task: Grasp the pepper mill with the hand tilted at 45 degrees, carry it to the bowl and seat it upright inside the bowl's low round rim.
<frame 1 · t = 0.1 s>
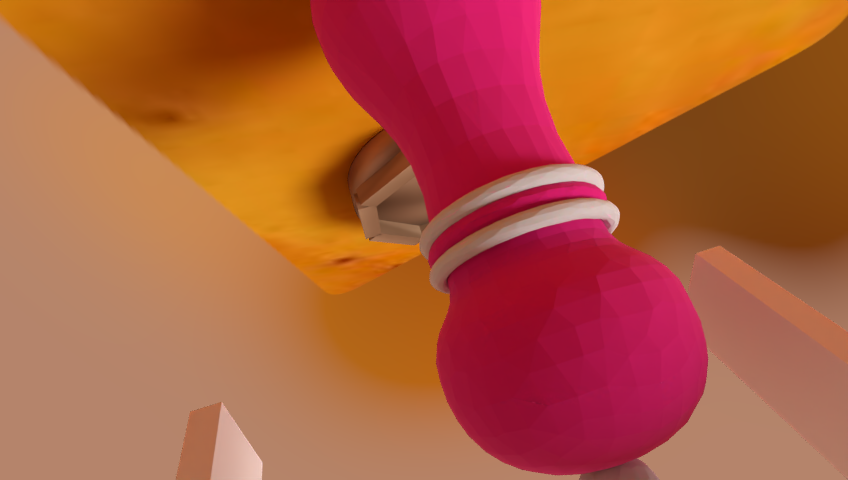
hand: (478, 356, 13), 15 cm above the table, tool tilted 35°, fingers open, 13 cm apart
bowl: (442, 163, 34), on the table
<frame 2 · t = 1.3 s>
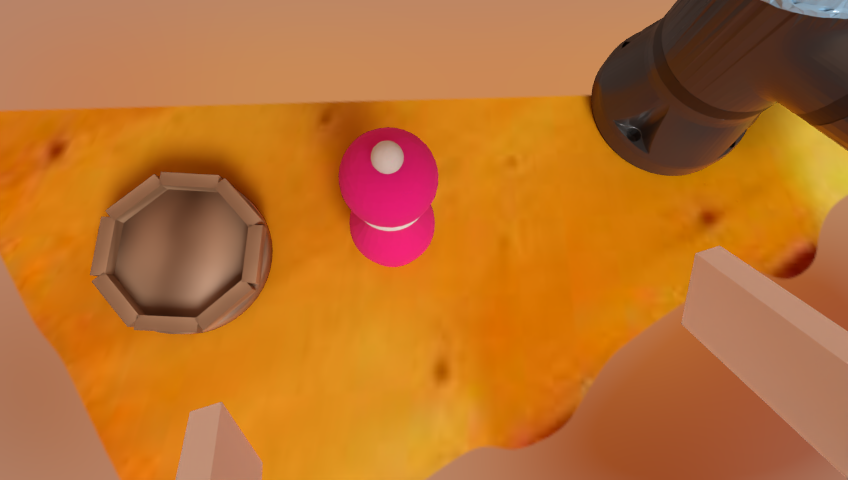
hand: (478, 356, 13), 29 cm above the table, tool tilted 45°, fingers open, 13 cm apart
bowl: (194, 255, 42), on the table
pepper mill: (393, 234, 43), on the table
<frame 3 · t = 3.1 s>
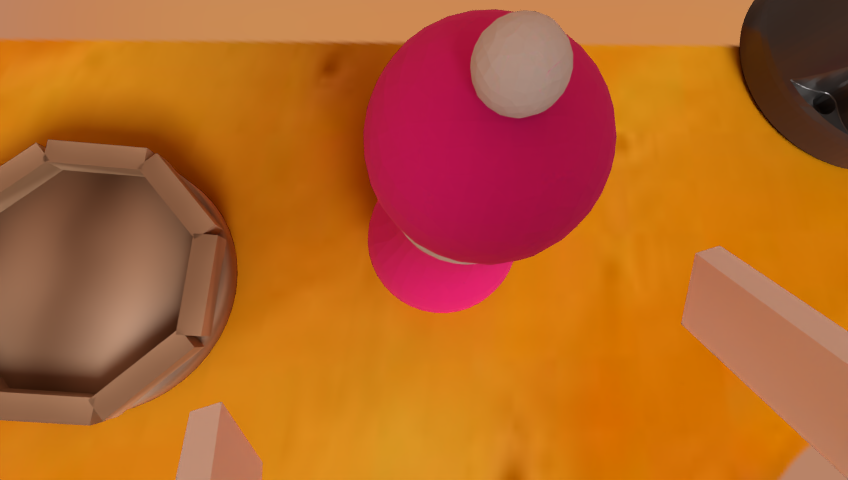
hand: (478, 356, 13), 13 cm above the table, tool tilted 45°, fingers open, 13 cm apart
bowl: (108, 281, 25), on the table
pepper mill: (434, 254, 27), on the table
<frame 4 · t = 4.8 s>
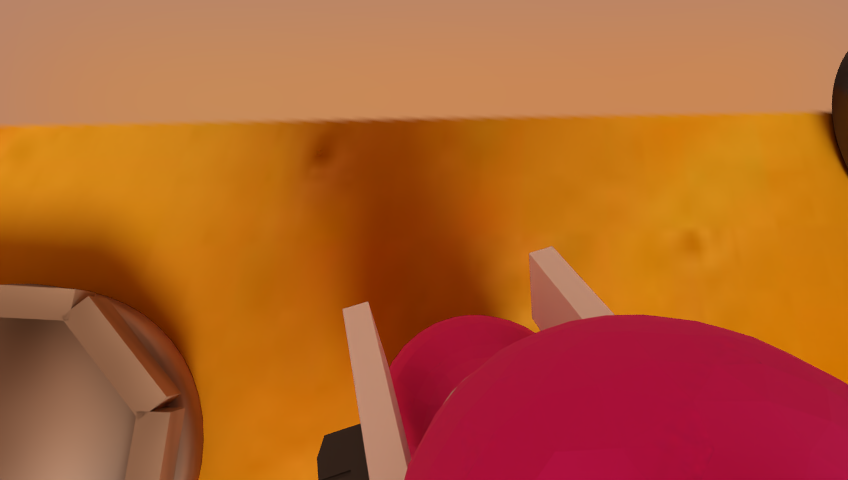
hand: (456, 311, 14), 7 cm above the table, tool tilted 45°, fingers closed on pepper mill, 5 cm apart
bowl: (31, 456, 19), on the table
pepper mill: (460, 400, 21), on the table, touching gripper
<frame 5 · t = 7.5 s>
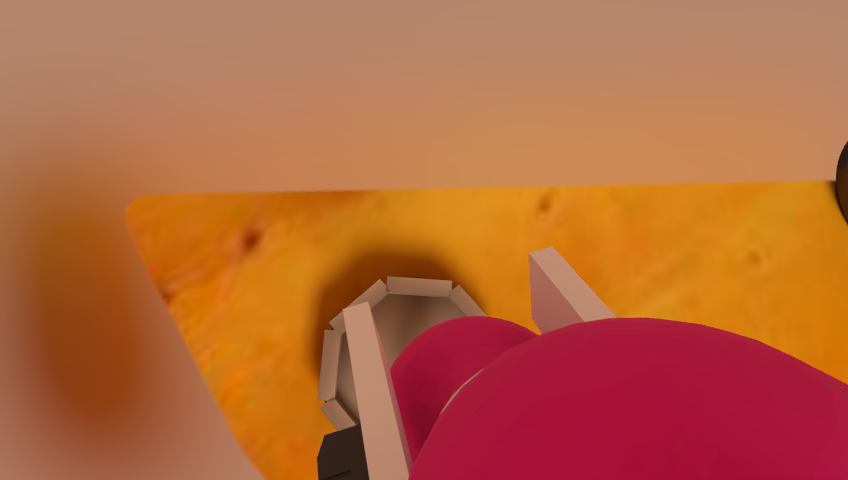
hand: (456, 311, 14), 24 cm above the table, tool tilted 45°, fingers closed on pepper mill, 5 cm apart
bowl: (412, 367, 37), on the table
pepper mill: (461, 401, 21), point 17 cm above the table, touching gripper
when the fingers open (10 cm above the table, at t = 10.5 s): pepper mill stays where it is, resting on bowl.
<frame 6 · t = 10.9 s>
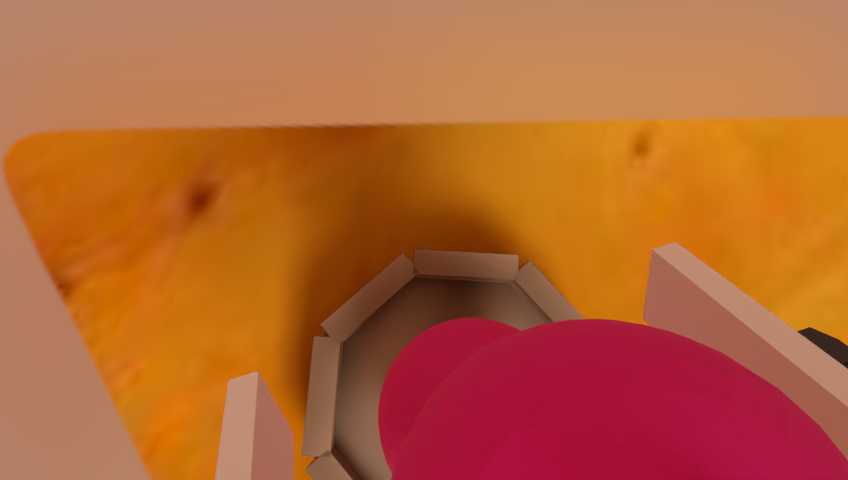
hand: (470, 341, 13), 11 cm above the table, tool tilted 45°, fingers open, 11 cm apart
bowl: (453, 393, 23), on the table
pepper mill: (459, 399, 22), point 2 cm above the table, touching bowl
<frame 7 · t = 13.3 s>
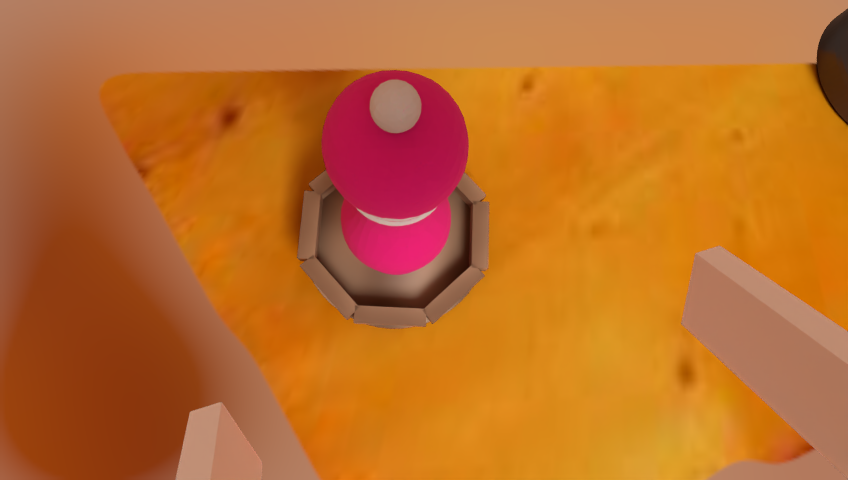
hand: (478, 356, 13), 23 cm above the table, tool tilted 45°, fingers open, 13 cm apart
bowl: (395, 238, 36), on the table
pepper mill: (396, 234, 35), point 2 cm above the table, touching bowl
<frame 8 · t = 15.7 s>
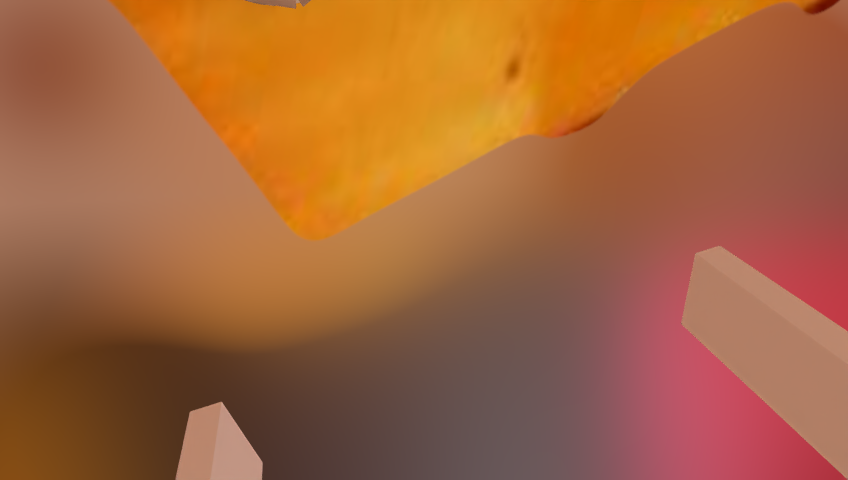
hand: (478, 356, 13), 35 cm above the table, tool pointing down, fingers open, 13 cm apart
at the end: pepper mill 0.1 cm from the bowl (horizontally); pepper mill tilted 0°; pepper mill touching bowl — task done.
